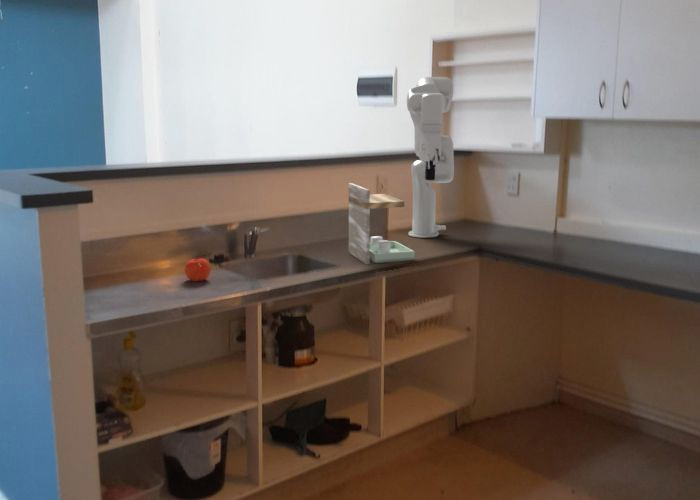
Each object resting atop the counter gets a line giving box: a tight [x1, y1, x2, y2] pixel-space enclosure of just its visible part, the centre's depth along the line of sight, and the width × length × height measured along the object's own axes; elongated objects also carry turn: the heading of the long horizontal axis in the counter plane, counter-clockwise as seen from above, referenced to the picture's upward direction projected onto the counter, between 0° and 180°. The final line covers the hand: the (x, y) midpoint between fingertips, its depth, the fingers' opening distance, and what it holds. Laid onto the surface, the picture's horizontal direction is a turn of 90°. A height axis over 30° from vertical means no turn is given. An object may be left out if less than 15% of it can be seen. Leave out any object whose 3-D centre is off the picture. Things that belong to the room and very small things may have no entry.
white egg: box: [378, 239, 391, 253], centre depth 255 cm, size 4×4×6 cm
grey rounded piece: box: [370, 235, 384, 253], centre depth 262 cm, size 4×4×6 cm
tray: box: [369, 240, 415, 264], centre depth 260 cm, size 15×19×3 cm
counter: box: [348, 182, 405, 265], centre depth 256 cm, size 14×20×26 cm
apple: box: [184, 255, 212, 282], centre depth 226 cm, size 8×8×8 cm
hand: (429, 179), depth 260 cm, fingers closed
